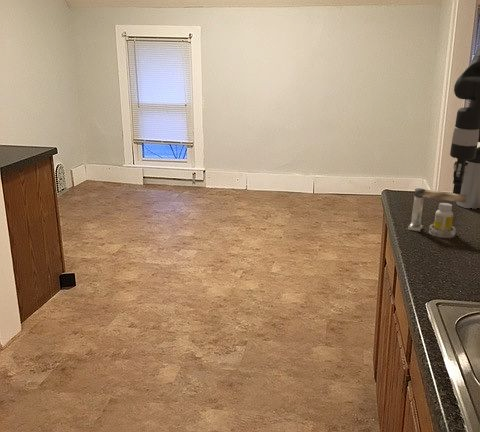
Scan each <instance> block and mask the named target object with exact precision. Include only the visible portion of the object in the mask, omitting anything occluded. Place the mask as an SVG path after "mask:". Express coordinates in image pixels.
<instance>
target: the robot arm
mask: <svg viewBox="0 0 480 432" xmlns="http://www.w3.org/2000/svg"><path fill="white" fill-rule="evenodd" d="M453 92H454V95H455V97H456V98H457V99H460V100H466V101H469V106H468V107H467V106H466V107H465V106H464V107H460V108H459V109H458V110H457V113H456V117H455V124H454V129H453V132H452V138H451V145H450V153H449V155H450V157H452V158H455V159H456V161H454V163H453V175H452V177H453V181H452V183H453V187H452V188H453V190H452V193H455V194H463V195H466V201H465V203H463V202H456V205H457V206H458V207H461V208H464V209H470V208H472V209H471V210H478V209H477V208H479V209H480V146H478V144H479V143H480V45H479V46H478V48H477V50H476V51H475V53H474V56H473V58H472V60H471V62H470V64H469V65H468V66H467V67H466V68H465V70H464V71H463V72H462V73H461V74H460V75H459V77H458V78H457V80H456V82H455V83H454V86H453Z"/></svg>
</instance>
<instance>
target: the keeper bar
mask: <svg viewBox="0 0 480 432" xmlns="http://www.w3.org/2000/svg"><path fill="white" fill-rule="evenodd" d="M414 196H417V197H424V198H426V199H427V198H429V199H436V200H443V201H450V202H456V203H457V202H463V203H465V201H466V195H463V194H455V193H453V192H448V191H447V192H446V191H439V190H432V189H425V188H422V187H421V188H416V187H415V189H414ZM414 196H413V197H414Z"/></svg>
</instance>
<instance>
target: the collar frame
mask: <svg viewBox="0 0 480 432" xmlns="http://www.w3.org/2000/svg"><path fill="white" fill-rule="evenodd" d="M424 199H425V197H417V196H413V204H412V211H411V219H410V220H411V221H410V223H409V225H408V226H407V230H408V231H413V232H414V231H415V232H419V233H420V232H421V231H422V229H423V224H422V216H423V209H424V201H425V200H424ZM456 231H457V228H456V227H454V226H453V225H452V227H451V231H440V230H436V229H434V223H431V224H430V225H429V227H428V233H429V234H430V235H431V236H434V237H436V238H441V239H451V238H454V237H455V236H456Z"/></svg>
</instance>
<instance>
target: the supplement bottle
mask: <svg viewBox="0 0 480 432" xmlns="http://www.w3.org/2000/svg"><path fill="white" fill-rule="evenodd" d="M452 210H453V205H452V204H451V203H448V202H440V203H439V204H438V209H437V210H436V211H435V215H434V221H433V224H434V229H436V230H440V231H451V227H452V226H453V219H454V213H453V211H452Z"/></svg>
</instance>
